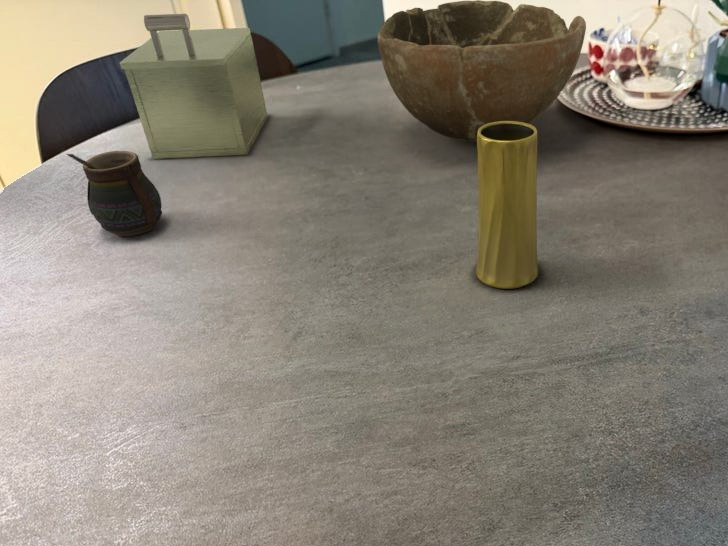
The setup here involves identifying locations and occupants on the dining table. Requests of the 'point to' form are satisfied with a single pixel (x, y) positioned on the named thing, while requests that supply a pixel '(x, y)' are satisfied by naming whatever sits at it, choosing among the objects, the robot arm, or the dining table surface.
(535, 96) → the bowl
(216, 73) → the bin
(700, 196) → the dining table surface
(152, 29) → the bin lid
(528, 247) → the vase
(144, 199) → the mate gourd
